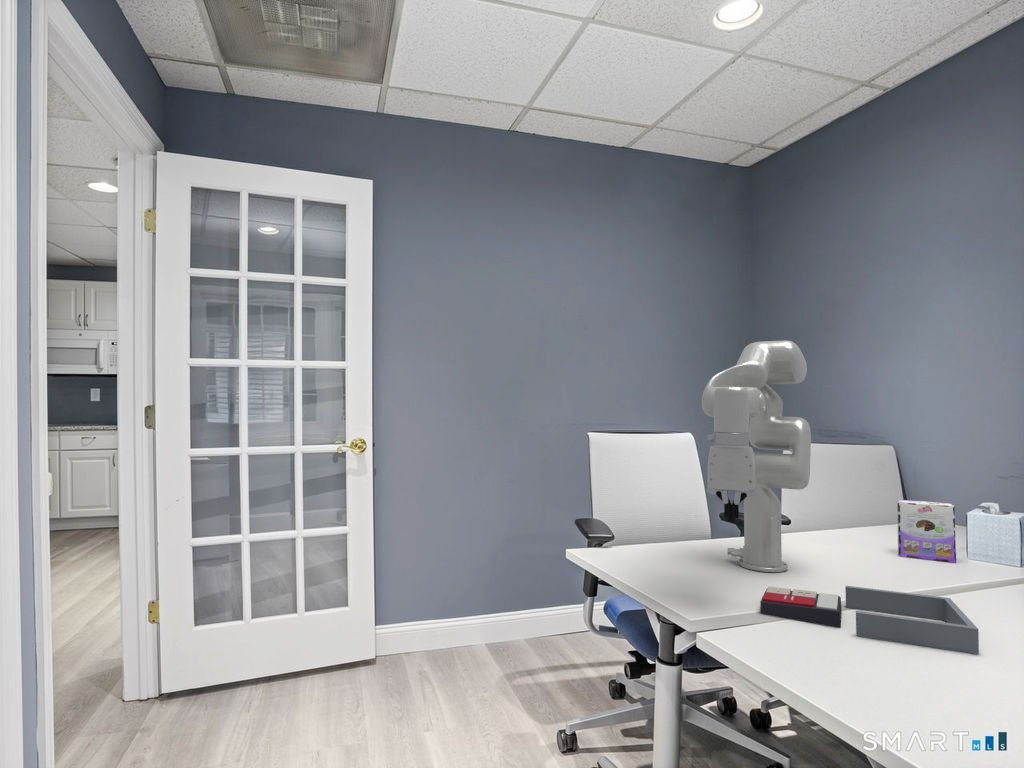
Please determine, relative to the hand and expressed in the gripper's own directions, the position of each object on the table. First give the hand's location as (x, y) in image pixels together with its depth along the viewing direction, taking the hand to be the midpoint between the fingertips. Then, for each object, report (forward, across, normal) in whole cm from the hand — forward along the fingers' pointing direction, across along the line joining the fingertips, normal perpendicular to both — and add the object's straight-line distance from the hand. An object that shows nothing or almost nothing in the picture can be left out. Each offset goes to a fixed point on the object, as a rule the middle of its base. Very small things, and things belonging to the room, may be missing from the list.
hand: (731, 520), depth 131 cm
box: (+18, +33, 0) cm, 38 cm away
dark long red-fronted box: (+19, +14, +1) cm, 24 cm away
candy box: (+18, +50, +66) cm, 85 cm away
